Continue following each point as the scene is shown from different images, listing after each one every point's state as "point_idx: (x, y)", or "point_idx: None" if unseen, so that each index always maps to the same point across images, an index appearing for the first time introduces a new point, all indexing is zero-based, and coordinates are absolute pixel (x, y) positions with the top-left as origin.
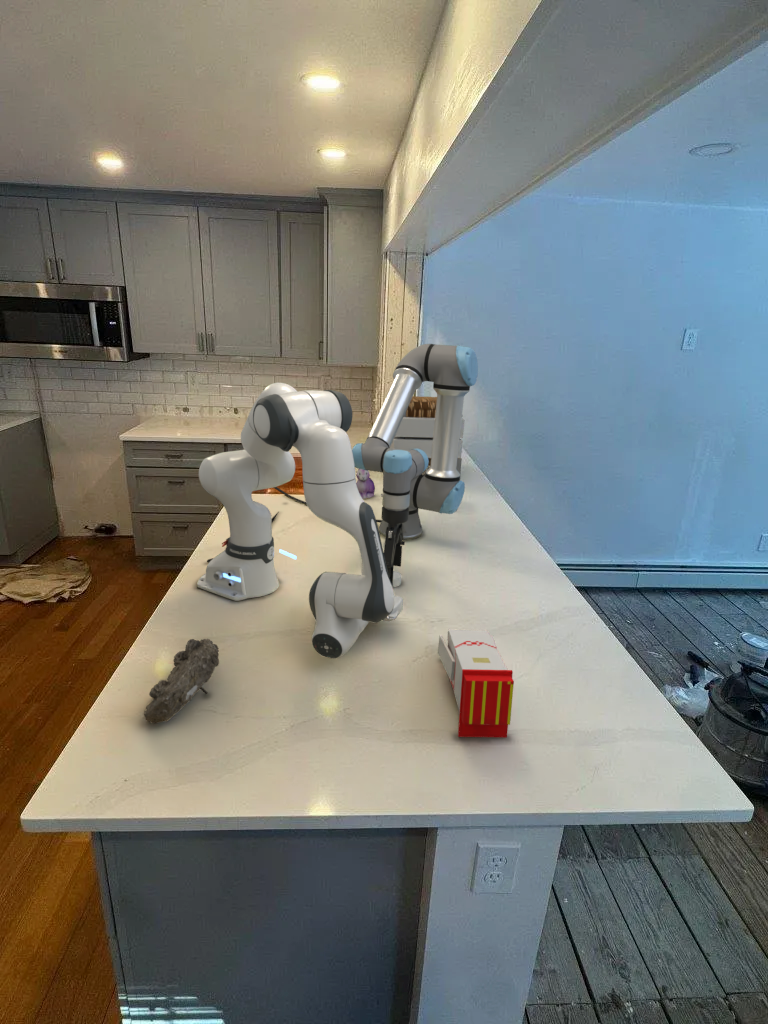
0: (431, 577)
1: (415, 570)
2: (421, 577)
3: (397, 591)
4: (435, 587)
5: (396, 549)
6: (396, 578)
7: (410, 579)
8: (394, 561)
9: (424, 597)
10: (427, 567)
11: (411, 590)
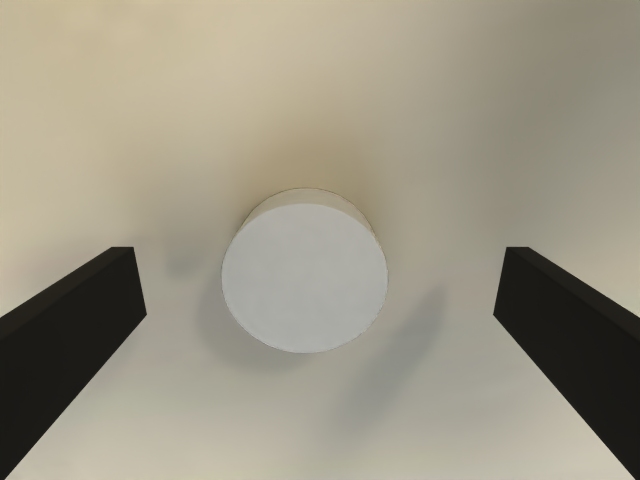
0: (435, 449)
1: (520, 366)
2: (425, 407)
3: (195, 315)
4: (319, 476)
5: (627, 395)
6: (253, 329)
7: (384, 358)
8: (525, 286)
9: (187, 446)
10: (569, 419)
11: (240, 382)
